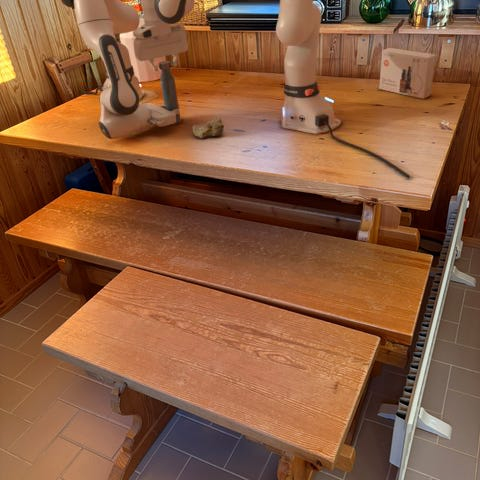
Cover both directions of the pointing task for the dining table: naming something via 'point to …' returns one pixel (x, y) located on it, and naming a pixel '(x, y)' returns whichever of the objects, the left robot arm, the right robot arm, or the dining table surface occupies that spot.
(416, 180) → the dining table surface
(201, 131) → the rock
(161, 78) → the bottle
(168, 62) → the cap
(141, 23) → the container
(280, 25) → the right robot arm
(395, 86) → the skincare box
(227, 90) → the dining table surface
